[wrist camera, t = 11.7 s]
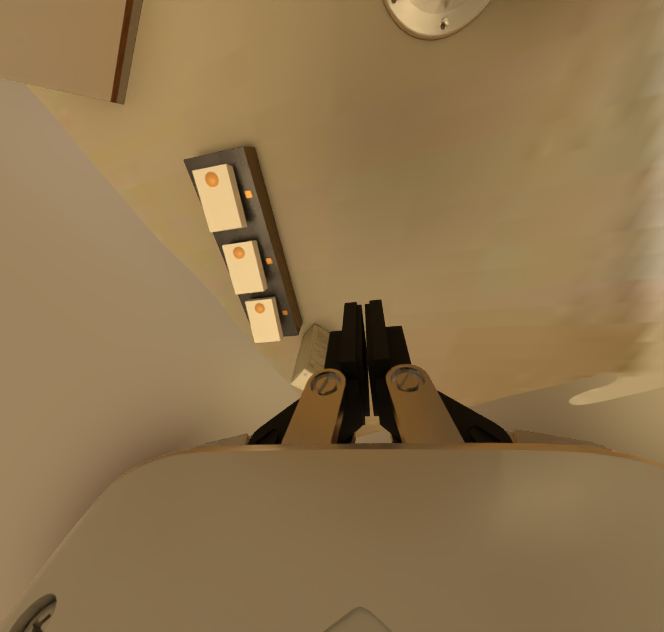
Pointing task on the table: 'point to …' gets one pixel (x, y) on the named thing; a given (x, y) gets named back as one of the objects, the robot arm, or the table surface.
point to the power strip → (255, 231)
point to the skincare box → (310, 356)
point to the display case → (70, 45)
